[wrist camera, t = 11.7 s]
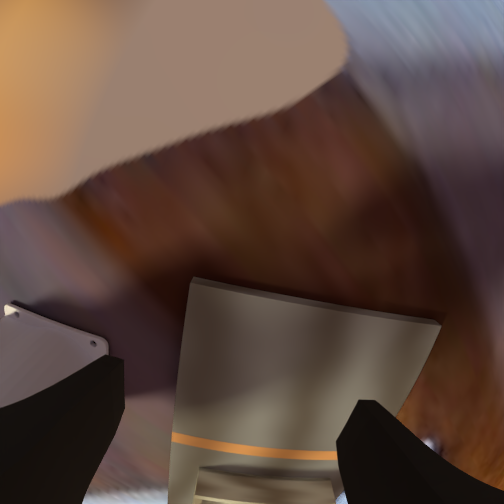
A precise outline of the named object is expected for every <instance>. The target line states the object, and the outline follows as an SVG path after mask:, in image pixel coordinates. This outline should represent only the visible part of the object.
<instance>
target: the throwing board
mask: <svg viewBox="0 0 504 504" xmlns="http://www.w3.org/2000/svg"><path fill="white" fill-rule="evenodd" d="M440 329H441V325H440V324H439V323H438V322H436V321H435V320H433V319H426V318H419V317H412V316H405V315H399V314H392V313H386V312H379V311H373V310H367V309H361V308H355V307H349V306H343V305H337V304H332V303H326V302H320V301H315V300H309V299H304V298H298V297H293V296H287V295H282V294H277V293H272V292H266V291H261V290H256V289H251V288H246V287H241V286H236V285H231V284H226V283H221V282H217V281H212V280H207V279H202V278H198V277H193V279H192V280H191V282H190V288H189V294H188V301H187V308H186V315H185V322H184V329H183V337H182V345H181V352H180V361H179V369H178V378H177V387H176V397H175V407H174V417H173V429H172V441H171V454H170V469H169V487H168V504H336V501H335V500H336V499H337V498H338V496H339V495H340V494H341V493H342V492H343V490H344V487H343V483H342V479H341V475H340V471H339V467H338V459H337V450H336V440H337V438H338V437H339V435H340V433H341V431H342V430H343V428H344V426H345V424H346V422H347V421H348V419H349V417H350V415H351V413H352V411H353V409H354V407H355V406H356V404H357V402H358V400H359V399H361V400H376V401H377V402H378V403H380V404H381V405H382V406H383V407H384V408H385V409H387V410H388V411H389V412H390V413H391V414H392V415H393V416H394V417H396V415H397V413H398V412H399V410H400V408H401V407H402V405H403V403H404V401H405V400H406V398H407V396H408V394H409V393H410V391H411V389H412V387H413V385H414V383H415V381H416V379H417V378H418V376H419V374H420V372H421V370H422V368H423V366H424V364H425V362H426V360H427V357H428V355H429V353H430V351H431V349H432V347H433V345H434V342H435V340H436V338H437V336H438V333H439V331H440Z"/></svg>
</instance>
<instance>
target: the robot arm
mask: <svg viewBox="0 0 504 504" xmlns="http://www.w3.org/2000/svg"><path fill="white" fill-rule="evenodd" d="M18 313H19V314H18ZM93 341H95V342H96V344H94V343H93ZM124 409H125V398H124V360H122V359H119V358H116V357H113V356H109V351H108V342H107V341H106V340H105V339H104V338H102V337H99V336H96V335H93V334H90V333H87V332H84V331H81V330H78V329H75V328H72V327H69V326H67V325H64V324H61V323H58V322H56V321H53V320H50V319H48V318H45V317H42V316H40V315H37V314H35V313H32V312H30V311H27V310H25V309H23V308H20V307H18V306H16V305H13V304H11V303H8V304H6V305H5V316H4V317H3V318H1V319H0V504H82V502H83V499H84V496H85V494H86V491H87V489H88V487H89V484H90V482H91V480H92V478H93V476H94V475H95V473H96V471H97V469H98V467H99V465H100V463H101V461H102V459H103V457H104V455H105V453H106V451H107V449H108V447H109V445H110V444H111V442H112V440H113V438H114V436H115V434H116V431H117V428H118V426H119V423H120V420H121V417H122V415H123V412H124ZM336 450H337V459H338V467H339V471H340V475H341V479H342V483H343V487H344V491H345V494H346V498H347V502H348V504H504V491H503V490H500V489H497V488H495V487H492V486H490V485H488V484H486V483H484V482H481V481H479V480H477V479H475V478H473V477H472V476H470V475H468V474H466V473H465V472H463V471H461V470H460V469H458V468H457V467H455V466H453V465H452V464H450V463H449V462H448V461H446V460H445V459H443V458H442V457H441V456H439V455H438V454H437V453H436V452H434V451H433V450H432V449H430V448H429V447H428V446H427V445H426V444H424V443H423V442H422V441H421V440H420V439H419V438H417V437H416V436H415V435H414V434H413V433H412V432H411V431H410V430H409V429H407V428H406V427H405V426H404V425H403V424H402V423H401V422H400V421H399V420H398V419H396V418H395V417H394V416H393V415H392V414H391V413H390V412H389V411H388V410H387V409H385V408H384V407H383V406H382V405H381V404H380V403H378V402H377V401H376V400H361V399H359V400H358V402H357V404H356V406H355V407H354V409H353V411H352V413H351V415H350V417H349V419H348V421H347V422H346V424H345V426H344V428H343V430H342V431H341V433H340V435H339V437H338V438H337V440H336Z"/></svg>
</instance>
